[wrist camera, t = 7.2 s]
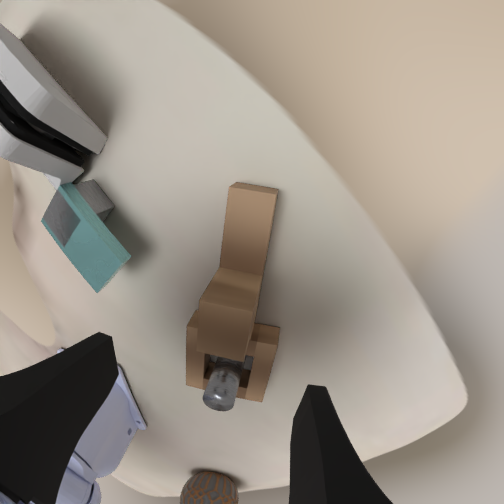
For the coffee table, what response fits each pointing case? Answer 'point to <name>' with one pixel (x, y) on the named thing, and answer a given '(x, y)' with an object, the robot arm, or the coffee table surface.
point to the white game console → (41, 117)
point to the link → (236, 297)
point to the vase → (209, 490)
